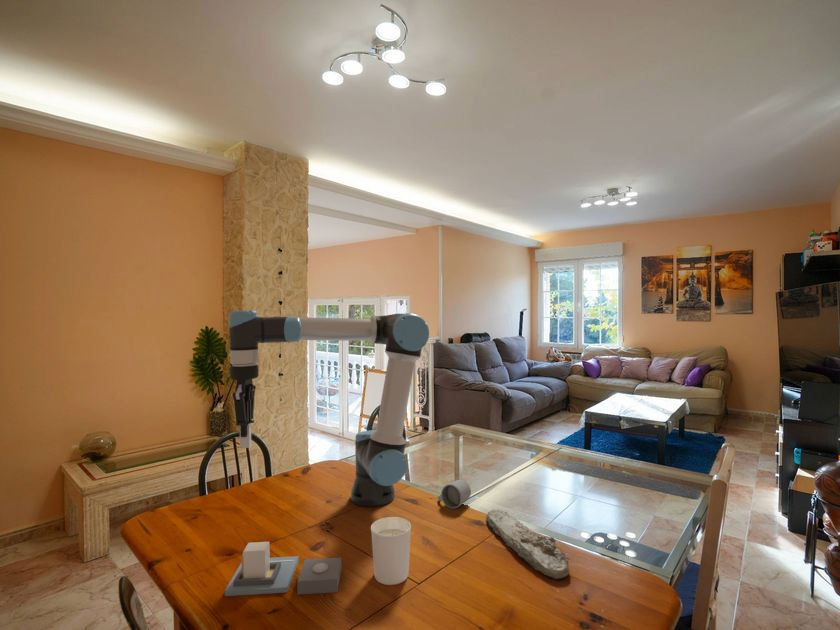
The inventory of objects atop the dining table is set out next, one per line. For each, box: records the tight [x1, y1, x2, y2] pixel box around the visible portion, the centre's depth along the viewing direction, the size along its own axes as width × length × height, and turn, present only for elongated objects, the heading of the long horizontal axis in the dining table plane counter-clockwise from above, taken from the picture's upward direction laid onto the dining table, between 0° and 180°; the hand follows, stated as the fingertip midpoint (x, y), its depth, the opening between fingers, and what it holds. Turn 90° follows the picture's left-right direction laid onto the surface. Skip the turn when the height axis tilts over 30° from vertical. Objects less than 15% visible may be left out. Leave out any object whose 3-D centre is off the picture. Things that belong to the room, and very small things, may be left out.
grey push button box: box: [296, 557, 342, 595], centre depth 105 cm, size 9×9×3 cm
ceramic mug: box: [437, 479, 472, 509], centre depth 148 cm, size 11×8×8 cm
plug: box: [241, 541, 271, 579], centre depth 105 cm, size 6×4×7 cm
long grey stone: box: [485, 509, 570, 580], centre depth 121 cm, size 35×5×10 cm
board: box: [224, 555, 300, 597], centre depth 107 cm, size 14×13×2 cm
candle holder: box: [370, 516, 412, 586], centre depth 107 cm, size 10×10×12 cm
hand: (245, 447), depth 125 cm, fingers closed
